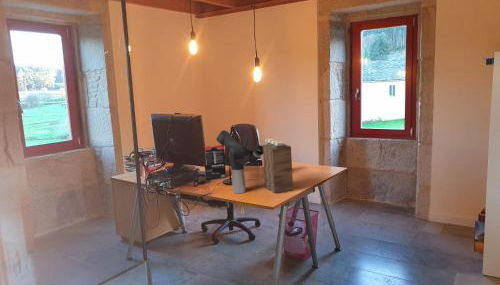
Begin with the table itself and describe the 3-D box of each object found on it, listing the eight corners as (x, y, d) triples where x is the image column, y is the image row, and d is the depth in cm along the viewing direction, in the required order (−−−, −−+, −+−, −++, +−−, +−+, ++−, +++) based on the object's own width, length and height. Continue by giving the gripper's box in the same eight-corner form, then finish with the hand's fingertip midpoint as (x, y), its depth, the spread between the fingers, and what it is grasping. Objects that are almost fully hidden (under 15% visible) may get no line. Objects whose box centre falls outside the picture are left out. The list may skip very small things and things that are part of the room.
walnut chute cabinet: (265, 187, 284) (262, 143, 278) (282, 184, 288) (280, 140, 282) (275, 194, 267) (272, 147, 261) (293, 190, 272) (290, 144, 265)
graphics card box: (225, 175, 323) (222, 144, 319) (226, 177, 316) (224, 145, 312) (205, 178, 320) (202, 146, 315) (206, 180, 313) (203, 147, 309)
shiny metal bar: (264, 142, 288) (264, 138, 287) (269, 141, 289) (269, 137, 289) (277, 147, 266) (277, 143, 265) (282, 146, 267) (282, 142, 266)
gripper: (249, 148, 307) (255, 142, 292) (266, 145, 312) (272, 139, 297) (251, 157, 305) (257, 151, 290) (268, 154, 310) (274, 148, 295)
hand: (264, 145), depth 294 cm, fingers open, 8 cm apart
